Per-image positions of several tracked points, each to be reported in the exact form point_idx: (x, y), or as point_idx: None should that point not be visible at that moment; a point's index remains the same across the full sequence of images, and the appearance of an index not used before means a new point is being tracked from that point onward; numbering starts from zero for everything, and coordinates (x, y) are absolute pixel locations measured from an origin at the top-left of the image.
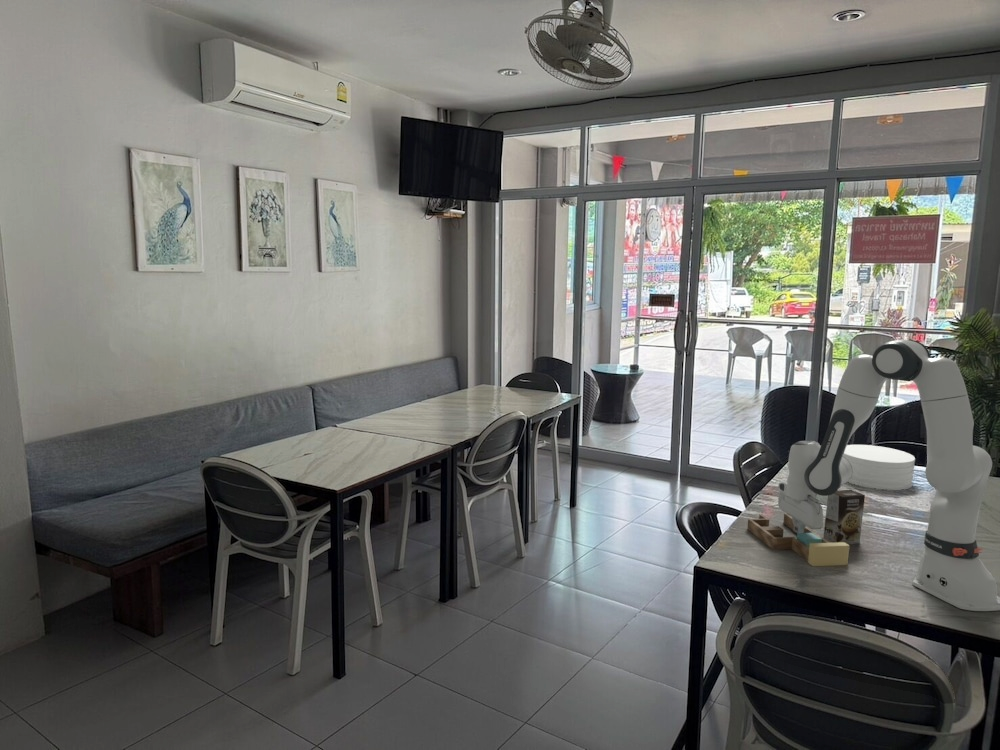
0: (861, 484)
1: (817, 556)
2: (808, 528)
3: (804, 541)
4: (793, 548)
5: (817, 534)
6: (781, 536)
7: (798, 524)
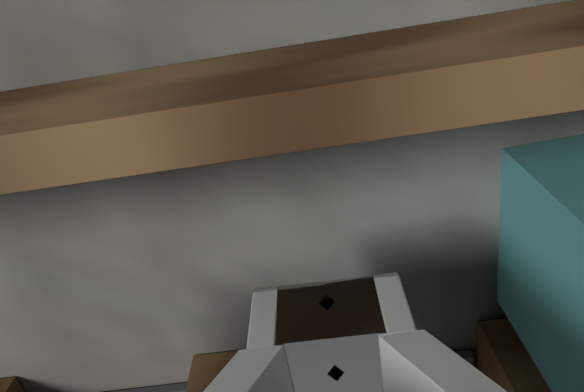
0: None
1: None
2: (175, 125)
3: None
4: None
5: (506, 77)
6: None
7: (269, 388)
